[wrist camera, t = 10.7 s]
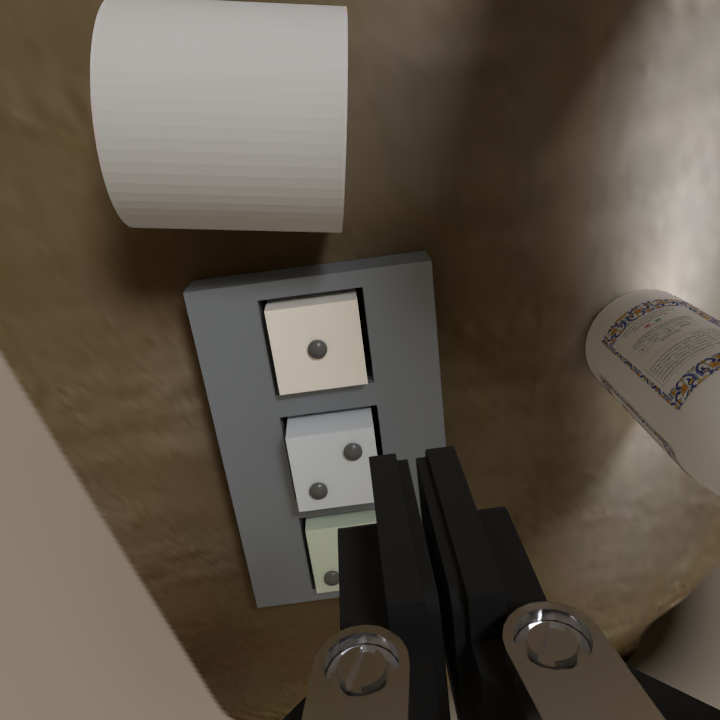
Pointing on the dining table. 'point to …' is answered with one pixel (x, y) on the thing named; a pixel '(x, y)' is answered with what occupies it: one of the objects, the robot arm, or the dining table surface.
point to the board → (311, 397)
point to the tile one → (316, 341)
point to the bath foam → (664, 374)
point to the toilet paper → (222, 113)
